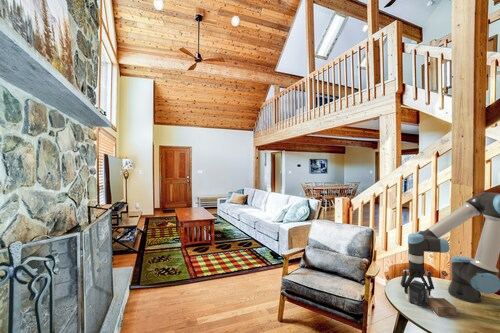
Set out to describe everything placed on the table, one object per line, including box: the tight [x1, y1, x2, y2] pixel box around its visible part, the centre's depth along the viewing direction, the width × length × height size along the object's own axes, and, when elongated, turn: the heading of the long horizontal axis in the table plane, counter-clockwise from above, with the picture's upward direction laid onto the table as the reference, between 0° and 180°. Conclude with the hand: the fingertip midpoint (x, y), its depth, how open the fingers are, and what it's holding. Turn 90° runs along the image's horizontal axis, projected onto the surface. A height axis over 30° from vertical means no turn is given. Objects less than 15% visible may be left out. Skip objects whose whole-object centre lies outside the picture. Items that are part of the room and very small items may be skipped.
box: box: [408, 279, 426, 307], centre depth 140 cm, size 8×6×11 cm
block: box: [426, 297, 457, 318], centre depth 131 cm, size 9×9×5 cm
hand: (417, 299), depth 140 cm, fingers closed on box, 9 cm apart
